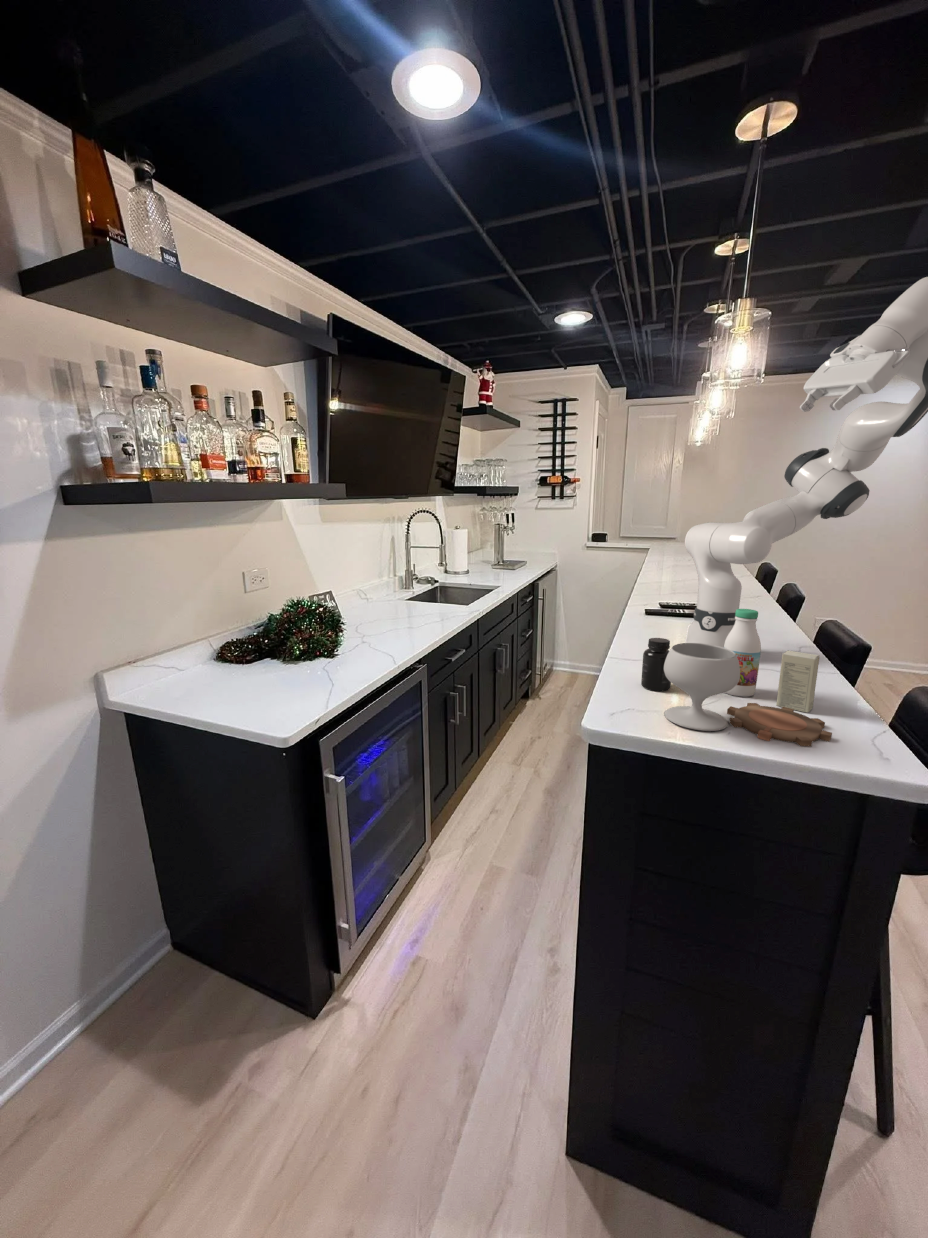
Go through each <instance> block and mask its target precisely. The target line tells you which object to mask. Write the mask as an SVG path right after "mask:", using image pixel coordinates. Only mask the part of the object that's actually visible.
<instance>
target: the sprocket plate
mask: <svg viewBox="0 0 928 1238" xmlns="http://www.w3.org/2000/svg"><path fill="white" fill-rule="evenodd" d="M726 715H728V716H729V715H730V716H731V717H729V722H728V725H729V724H730V725H731V726H732V727H733V728H742V729H744V730H745V731H748V732H749V733H753V734H756V735H757V739H760V740H763V741H767V742H770V741H771V740H775V741H781V742H786V743H795V744H796V745H798V746H799V747H812V746H813V745H812V744H813V742H816V741H818V740H821V741H826V742H829V743H830V742H831V739H832V736H833V732H831V731H828V730H823V729H825V725H826V724H825V723H826V722H825V721H824V720H822V719H820V718H819V717H817V718H816V717H815V718H812V717H808V716H806V715H804V714H802V713H798V712H795V710H794V709H791V708H787V707H780V708H779V707H774V706H768V705H767V706H766V705H760V704H759V703H757V702H747V703H746V705H745V706H741V707H735V706H729V707H728V708H727V710H726ZM732 716H733V717H732Z"/></svg>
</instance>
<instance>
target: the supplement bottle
mask: <svg viewBox="0 0 928 1238" xmlns="http://www.w3.org/2000/svg"><path fill="white" fill-rule="evenodd" d="M670 644H671V641H670V640H669V639H668V638H663V637H650V638H648V644H647V647H648V648H647V649H645V650H644V651H643V654H642V664H641V665H642V668H641V682H640V683H641V687H643V688H644V689H645V690H649V691H653V692H666V691H668V690H670V689H671V686H672V683H671V682H670V681H669V680H668V679H667V677H666V676H665V672H664V663H665V660H666V657H667V655H668V653H669V651H670V649H671V646H670Z"/></svg>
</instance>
